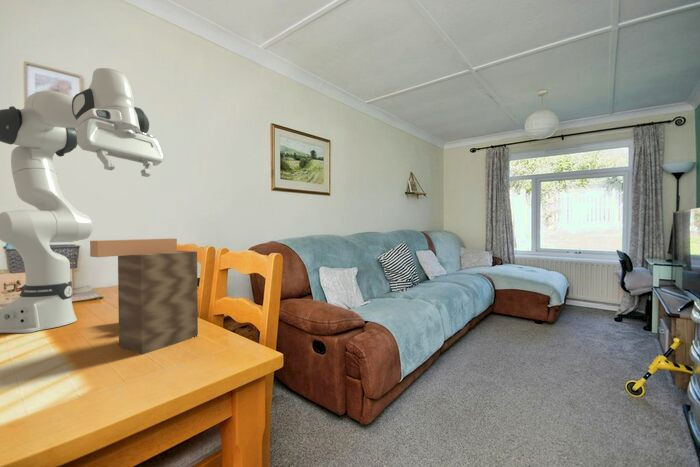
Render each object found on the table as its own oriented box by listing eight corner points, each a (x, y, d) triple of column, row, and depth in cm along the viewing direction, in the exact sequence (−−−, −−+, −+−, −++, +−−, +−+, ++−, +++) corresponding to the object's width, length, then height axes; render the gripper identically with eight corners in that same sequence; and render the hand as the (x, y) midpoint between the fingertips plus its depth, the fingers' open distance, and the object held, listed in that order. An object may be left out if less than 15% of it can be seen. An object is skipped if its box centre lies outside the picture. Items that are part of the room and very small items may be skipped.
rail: (97, 257, 77) (97, 241, 77) (90, 256, 79) (90, 240, 79) (176, 251, 95) (176, 238, 95) (169, 251, 97) (169, 238, 97)
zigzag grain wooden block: (142, 354, 83) (140, 255, 82) (118, 345, 89) (117, 253, 88) (197, 336, 97) (197, 251, 96) (174, 329, 103) (173, 250, 102)
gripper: (149, 141, 97) (158, 183, 95) (69, 117, 78) (77, 169, 76) (163, 132, 94) (172, 175, 93) (83, 106, 75) (93, 159, 74)
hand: (129, 172), depth 84 cm, fingers open, 8 cm apart
